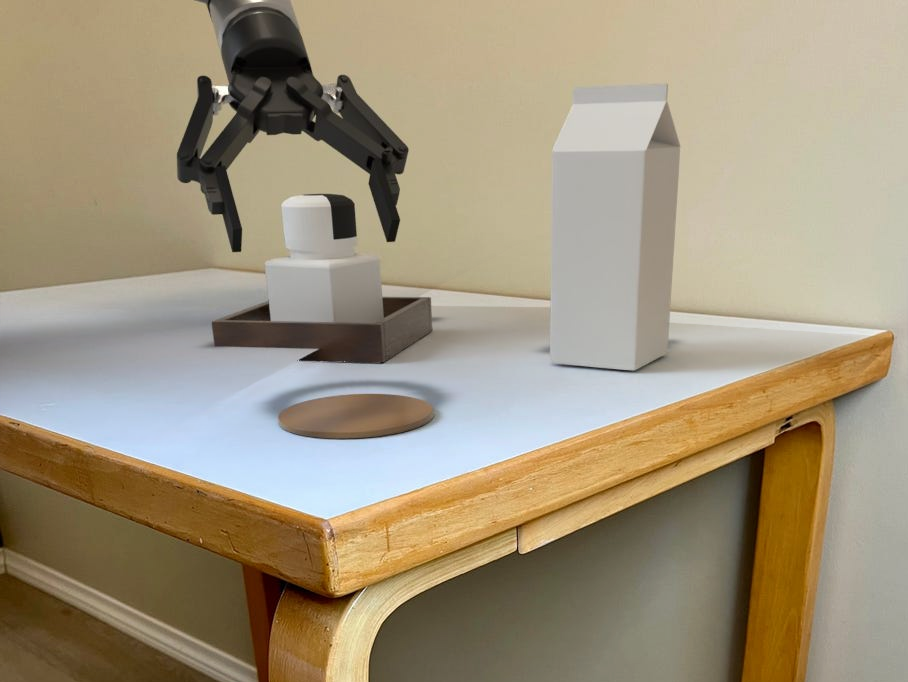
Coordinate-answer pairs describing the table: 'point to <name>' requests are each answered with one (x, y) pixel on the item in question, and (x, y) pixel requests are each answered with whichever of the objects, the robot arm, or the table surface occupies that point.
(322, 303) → the medicine bottle
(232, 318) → the walnut frame box
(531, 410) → the table surface
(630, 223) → the milk carton
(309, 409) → the cork coaster
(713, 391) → the table surface
